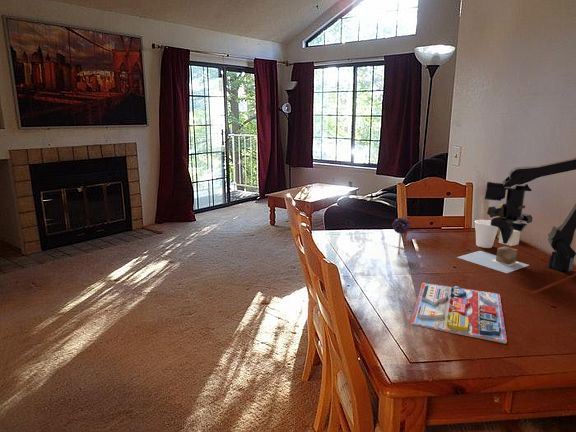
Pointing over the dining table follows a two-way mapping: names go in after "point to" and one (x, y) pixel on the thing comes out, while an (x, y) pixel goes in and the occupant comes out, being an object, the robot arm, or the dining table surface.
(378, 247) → the dining table surface
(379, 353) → the dining table surface
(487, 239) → the cup
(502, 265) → the mat
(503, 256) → the walnut block
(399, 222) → the lollipop
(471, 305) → the puzzle board
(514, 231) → the cream block
